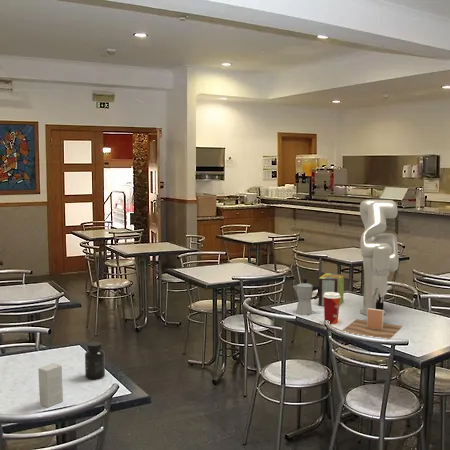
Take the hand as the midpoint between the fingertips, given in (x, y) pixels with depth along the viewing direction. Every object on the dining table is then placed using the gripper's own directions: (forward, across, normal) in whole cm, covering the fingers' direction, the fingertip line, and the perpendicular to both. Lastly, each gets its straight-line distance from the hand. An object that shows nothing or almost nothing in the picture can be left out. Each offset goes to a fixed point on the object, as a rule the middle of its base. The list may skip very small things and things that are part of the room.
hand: (379, 310), depth 263 cm
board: (+8, +8, -1) cm, 11 cm away
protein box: (+8, -31, -35) cm, 48 cm away
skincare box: (+9, +138, -66) cm, 154 cm away
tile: (+7, +7, 0) cm, 10 cm away
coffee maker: (+8, -6, -39) cm, 40 cm away
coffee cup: (+8, +7, -21) cm, 24 cm away
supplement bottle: (+9, +114, -70) cm, 135 cm away
